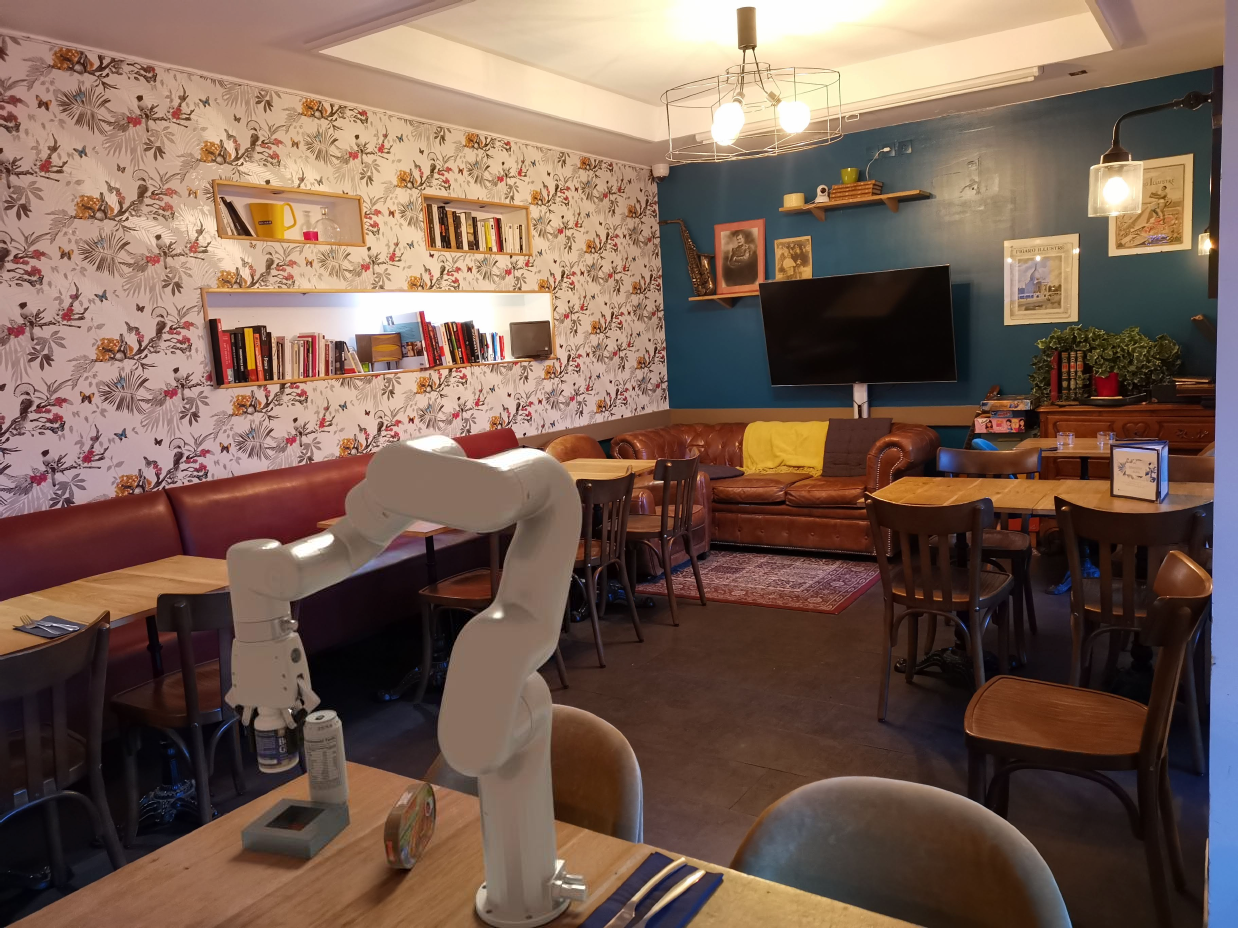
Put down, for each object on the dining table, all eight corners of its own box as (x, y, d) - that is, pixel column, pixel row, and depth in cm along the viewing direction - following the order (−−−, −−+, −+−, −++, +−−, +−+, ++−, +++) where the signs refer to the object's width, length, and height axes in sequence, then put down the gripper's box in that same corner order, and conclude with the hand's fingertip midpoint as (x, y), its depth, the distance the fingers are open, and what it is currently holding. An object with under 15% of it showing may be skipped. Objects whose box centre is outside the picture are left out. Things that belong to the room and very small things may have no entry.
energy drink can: (355, 793, 150) (346, 707, 148) (340, 811, 144) (331, 723, 142) (320, 793, 150) (311, 708, 149) (304, 812, 145) (294, 724, 143)
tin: (405, 880, 124) (399, 824, 123) (383, 880, 124) (377, 823, 123) (439, 823, 139) (435, 772, 138) (420, 823, 139) (415, 772, 138)
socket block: (350, 822, 140) (348, 804, 140) (311, 858, 131) (309, 839, 130) (285, 815, 144) (283, 797, 143) (242, 849, 134) (240, 830, 134)
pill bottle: (286, 774, 125) (278, 708, 124) (251, 773, 126) (243, 707, 125) (306, 756, 130) (299, 692, 129) (272, 755, 131) (265, 692, 130)
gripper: (332, 620, 127) (344, 741, 129) (230, 617, 132) (244, 734, 134) (300, 638, 120) (314, 765, 122) (193, 634, 124) (209, 757, 127)
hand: (277, 748), depth 128 cm, fingers closed on pill bottle, 5 cm apart
